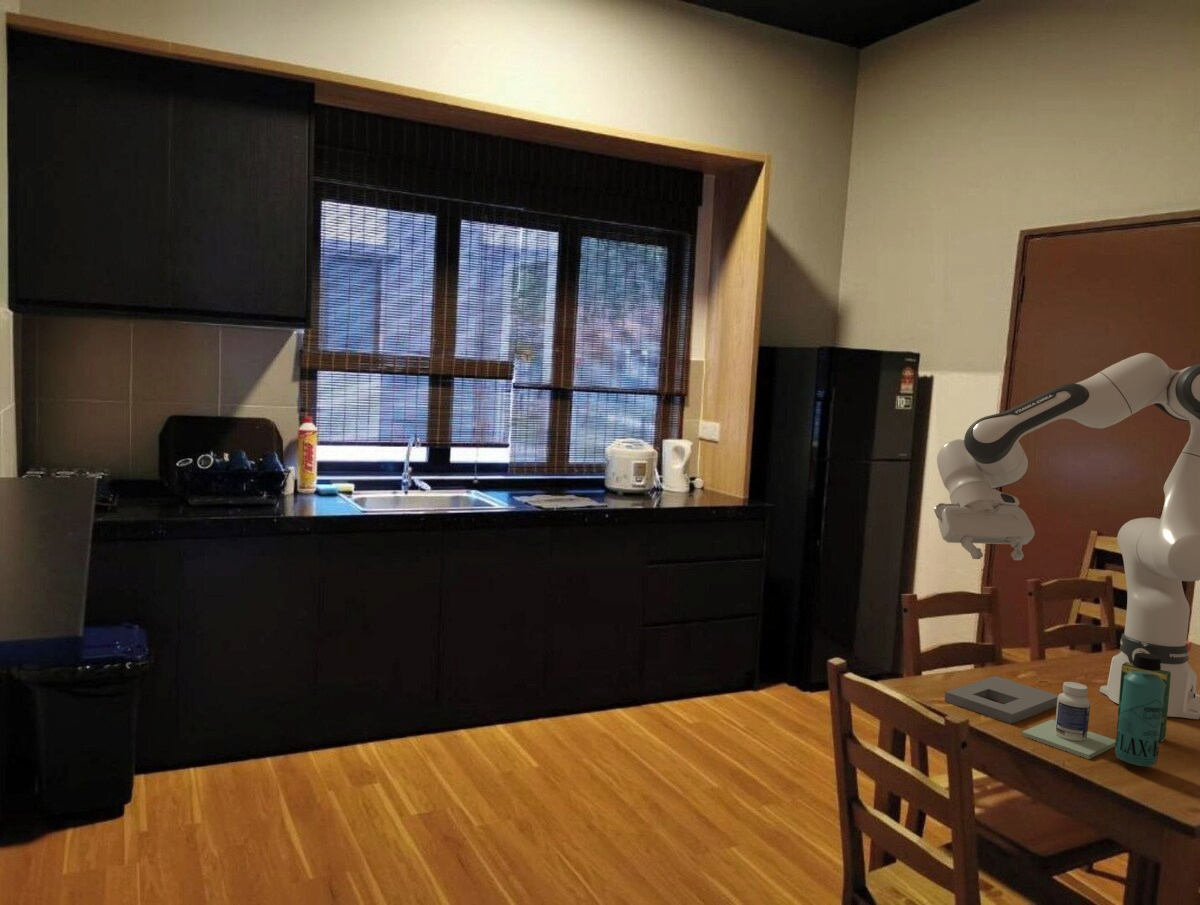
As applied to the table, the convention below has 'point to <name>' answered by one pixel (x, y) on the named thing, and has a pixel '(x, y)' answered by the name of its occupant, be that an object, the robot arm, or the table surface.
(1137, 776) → the table surface
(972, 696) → the frame
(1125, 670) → the coffee box
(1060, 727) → the pill bottle
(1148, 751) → the beverage bottle
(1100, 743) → the mat
